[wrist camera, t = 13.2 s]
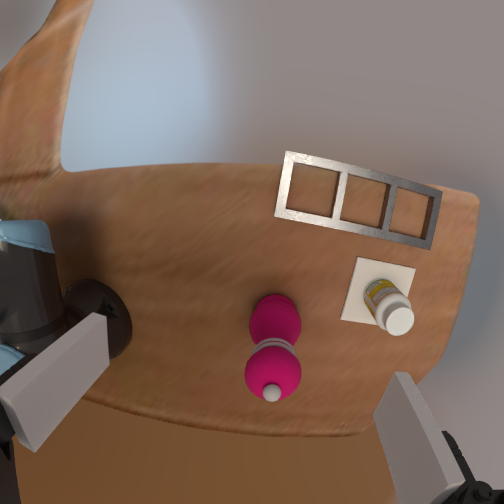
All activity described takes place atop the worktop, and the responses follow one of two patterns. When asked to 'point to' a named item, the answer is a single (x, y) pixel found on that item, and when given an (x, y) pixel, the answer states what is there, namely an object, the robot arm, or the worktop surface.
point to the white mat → (363, 277)
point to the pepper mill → (274, 349)
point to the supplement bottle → (389, 306)
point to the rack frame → (334, 217)
